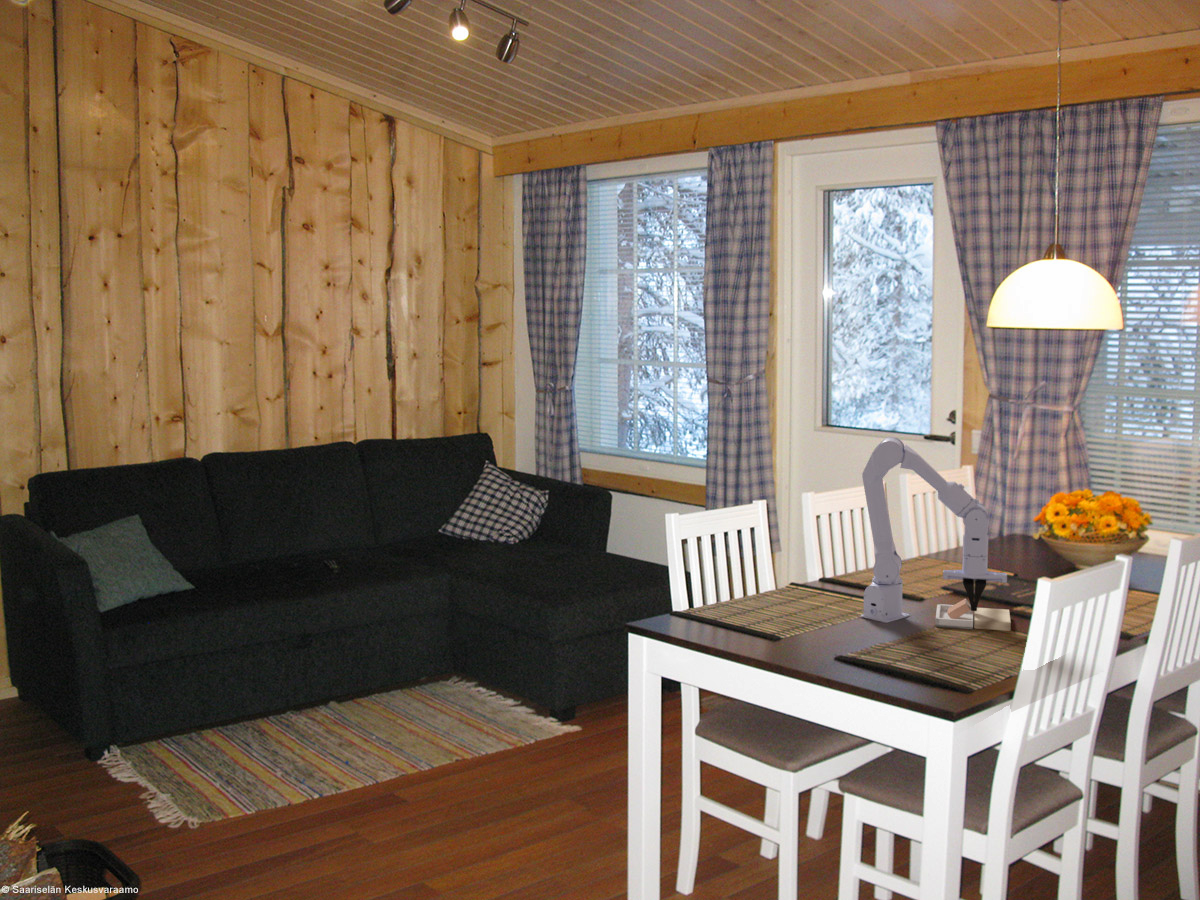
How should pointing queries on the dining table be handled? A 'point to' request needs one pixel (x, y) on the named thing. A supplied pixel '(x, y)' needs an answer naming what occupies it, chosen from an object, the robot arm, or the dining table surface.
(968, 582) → the robot arm
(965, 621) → the tray
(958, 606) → the tile
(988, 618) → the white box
